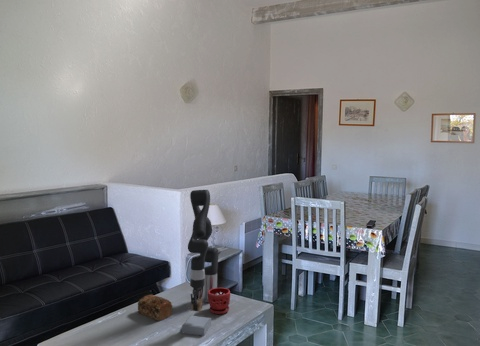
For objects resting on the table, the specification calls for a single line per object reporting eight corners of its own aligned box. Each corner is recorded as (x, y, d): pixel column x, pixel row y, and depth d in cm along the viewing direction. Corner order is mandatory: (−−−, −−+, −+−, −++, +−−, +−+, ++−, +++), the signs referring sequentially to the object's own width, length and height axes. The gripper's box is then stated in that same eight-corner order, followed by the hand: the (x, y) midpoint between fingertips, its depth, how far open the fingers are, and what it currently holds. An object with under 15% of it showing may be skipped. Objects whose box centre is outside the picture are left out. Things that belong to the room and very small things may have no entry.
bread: (172, 316, 221) (172, 299, 220) (157, 322, 213) (157, 304, 212) (151, 307, 233) (151, 290, 232) (136, 312, 224) (136, 296, 224)
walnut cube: (194, 307, 208) (194, 298, 208) (202, 308, 207) (202, 298, 207) (191, 310, 204) (191, 301, 203) (199, 311, 203) (199, 302, 202)
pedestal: (190, 322, 213) (190, 315, 213) (211, 325, 211) (211, 317, 211) (182, 332, 202) (182, 324, 201) (204, 335, 199) (204, 327, 199)
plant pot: (231, 306, 235) (231, 287, 235) (228, 316, 222) (228, 295, 222) (209, 305, 237) (210, 286, 236) (205, 314, 224) (206, 294, 223)
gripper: (195, 272, 212) (194, 302, 213) (185, 280, 198) (185, 313, 199) (208, 273, 210) (207, 304, 212) (199, 282, 197) (199, 315, 198)
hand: (196, 308), depth 205 cm, fingers closed on walnut cube, 4 cm apart
